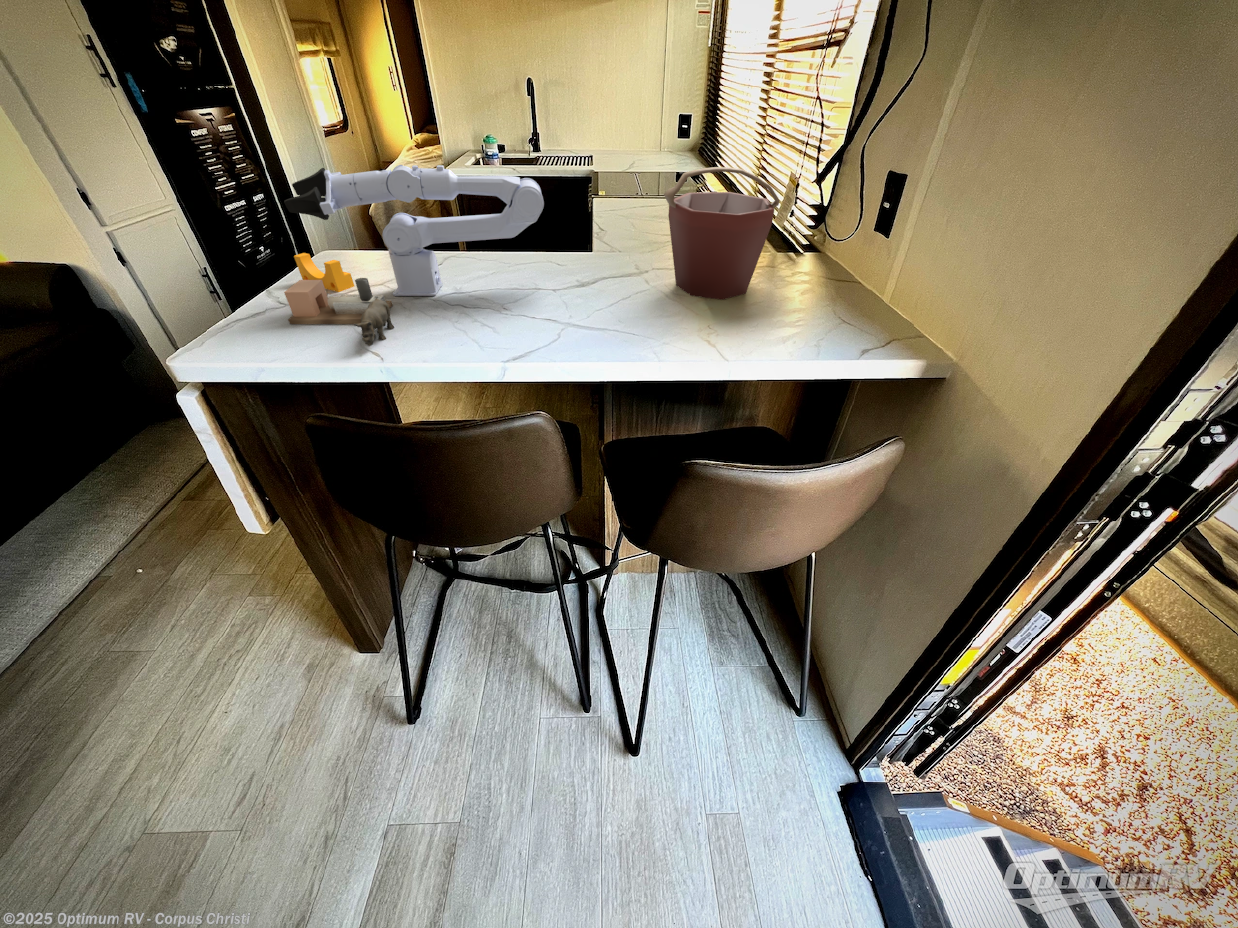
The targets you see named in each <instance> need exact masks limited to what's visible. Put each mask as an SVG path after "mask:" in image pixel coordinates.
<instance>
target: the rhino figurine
mask: <svg viewBox="0 0 1238 928" xmlns="http://www.w3.org/2000/svg"><path fill="white" fill-rule="evenodd" d="M385 301H386V300H385ZM385 301H382V300H379V299H375V300H374V301H372V302H371V303H370V304H369V305H368V308H367V309H366V310H365V312H364V313H363V315H362V317H361V323H360V324H353V326H354V327H357V328H361V337H362V341H363V342H364V343H365V346H369V347H371V346H373V344H374V339H376V337H377V336H378V338H377V339H378V340H379V341H385V340H386V339H387V337H386V336H385V334H384V332H383V331H384V326H386V329H387V330H393V329H394V328H395V325H394V324H393V323H392V319H391V308H389V306H388V304H387V303H386V302H385ZM375 331H376V332H377V336H376V332H375Z"/></svg>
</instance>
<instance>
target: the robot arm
mask: <svg viewBox="0 0 1238 928" xmlns="http://www.w3.org/2000/svg"><path fill="white" fill-rule="evenodd" d="M444 166H445V165H439V164H438V165H437V164H436V168H429V167H427V168H426V167H419V166H418V165H412V166H411V167H409V166H406V165H403V164H399V165H397V166H395V167H394V168H393V169H392V170H391V169H382V170H370V171H369V170H368V171H361V172H353V173H347V174H342V173H341V171H337V172H331V171H330V169H326V168H324V167H321V168H320V169H319V170H318V171H316V172H315V173H313V174H312V175H310V176H308V177H305V178H303V179H300V180H297V181H294V182H293V183H291V186H292V188H293V190H294V192H295V194H296V195H297V196H293V197H290V198H287V199H285V200H284V202H283V203H284V205H285V207H286V209H287V210H288V212H289V213H292V214H293V213H294V214H302V215H308V216H313V217H315V218H319V219H321V220H324V221H327V220H329V218H330V215H333V214H335V213H336V212H337V211H339V210H343V209H344V208H348V207H356V206H365V205H370V204H373V205H374V204H380V203H387V202H388V201H396V200H398V201H400V202H405V203H409V204H410V203H412V202H413V201H415V200H416V199H417V198H419V199H421V200H426V201H427V200H435V201H437V200H438V201H439V200H440V201H453V200H455V198H456V197H457V196H458V195H459V194H460V195H461V194H462V195H473V196H474V195H475V196H486V197H487V196H489V197H491V196H492V197H497V198H498V199H500V200H501V201H503V203H505V204H506V206H505V207H504V209H503V210H502V212H501V213H491V214H475V215H462V216H461V215H459V216H448V217H447V216H446V217H426V216H419V215H418V216H417V215H416V216H414V215H411V214H408V213H405V212H398V213H395V214H394V215H392V217H391V218H390V220H389V222H388V224H387V225H386V226H385V227H384V228H383V230H382V239H383V242H384V245H385V246H386V247H387V251H388V255H389V258H390V263H391V267H392V270H393V274H394V278H395V282H396V286H397V288H396V289H395V290H394V291H393V292H392V295H393V297H395V296H396V297H400V296H403V297H404V296H407V297H410V296H411V297H413V296H414V297H416V296H418V297H422V296H428V297H429V296H430V297H431V296H433V297H434V296H436V295H437V293H438V292H439V290H440V288H441V287H442V285H443V284H444V283H443V282H442V279H441V273H440V269H439V263H438V258H437V256H436V252H435V251H434V250H428V249H425V247H428V246H430V245H432V244H442V243H443V244H444V243H457V242H472V241H486V240H499V239H501V240H502V239H512V238H515V237H516V236H518V235H519V234H521V233H522V232H523V231H524V230H525V229H527V228H528V227H529V226H531V225H532V224H534V223H536V222H537V221H538V219H539V217H540V216H541V214H542V212H543V209H544V207H545V201H544V196H543V194H542V189H541V187H540V185H539V183H537V181H536V180H534V179H533V178H530V177H524V178H521V177H519V176H515V175H512V176H510V175H470V176H469V175H461V176H460V175H459V176H458V175H456V173H454V172H453V171H452V170H451V169H449V168H445V167H444Z"/></svg>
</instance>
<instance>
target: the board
mask: <svg viewBox="0 0 1238 928" xmlns="http://www.w3.org/2000/svg"><path fill="white" fill-rule="evenodd" d="M385 301H386V303H387V304H388V306H389V308H390V309H391V308H392V307H393V305H394V304H393V302H392V300H385ZM319 310H320V313H319V314H318V315H317V316H300V317H294V316H293V314H292V315H291V316H290V317H289V318H288V319H287V321H288V323H289V325H354V324H360V323H361V317H362V315H363V314H336V312H335V309H331V308H330V307H329V305H328V306H327V307H319Z"/></svg>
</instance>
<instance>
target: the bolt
mask: <svg viewBox="0 0 1238 928" xmlns="http://www.w3.org/2000/svg"><path fill="white" fill-rule="evenodd" d="M354 282H355V285H356V288H357V293H358V295H359V296H360V297H340V296H328V305H329V307H330V308H331V309H334V306H333V303H334V302H372V301H374V300H375V299H376V297H373V296H372V295H373V292H372V289H371V286H370V282H369V279H368V277H360V278H356V279H354Z"/></svg>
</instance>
